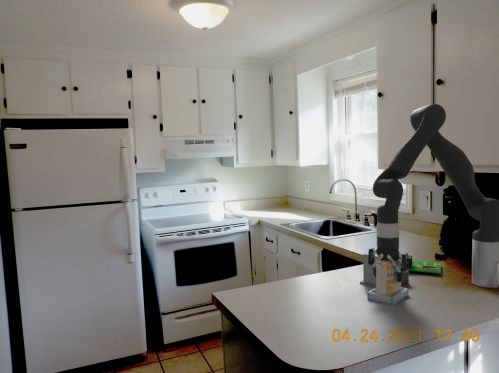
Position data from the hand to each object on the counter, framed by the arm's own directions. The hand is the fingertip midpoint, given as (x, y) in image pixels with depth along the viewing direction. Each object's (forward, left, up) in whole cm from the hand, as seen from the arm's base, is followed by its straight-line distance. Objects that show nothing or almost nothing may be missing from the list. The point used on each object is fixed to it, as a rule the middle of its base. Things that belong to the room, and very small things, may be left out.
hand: (387, 279), depth 143 cm
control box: (+11, -11, -7) cm, 17 cm away
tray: (0, 0, -7) cm, 7 cm away
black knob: (+3, -17, -7) cm, 19 cm away
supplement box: (0, 0, -6) cm, 6 cm away
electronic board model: (+11, -37, -7) cm, 40 cm away
